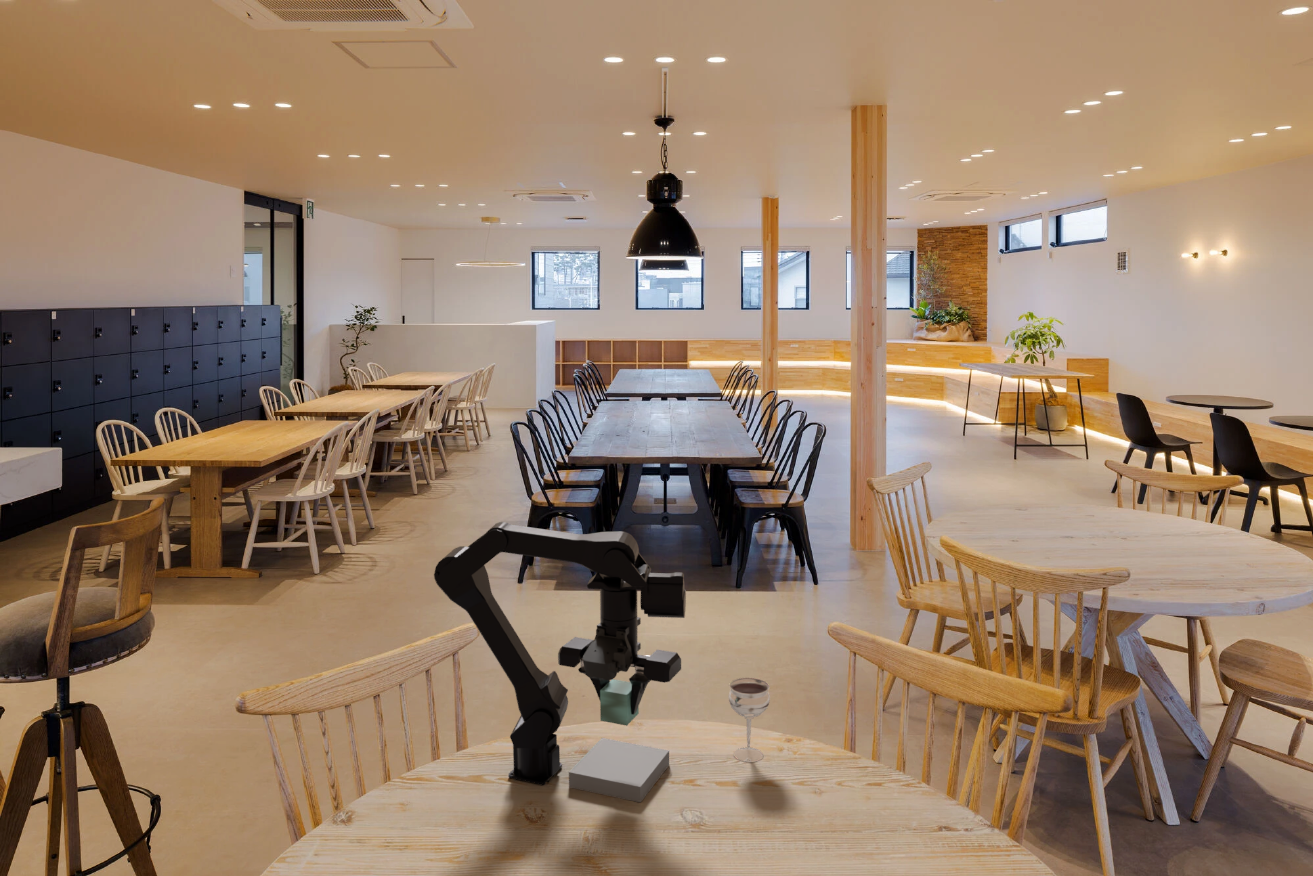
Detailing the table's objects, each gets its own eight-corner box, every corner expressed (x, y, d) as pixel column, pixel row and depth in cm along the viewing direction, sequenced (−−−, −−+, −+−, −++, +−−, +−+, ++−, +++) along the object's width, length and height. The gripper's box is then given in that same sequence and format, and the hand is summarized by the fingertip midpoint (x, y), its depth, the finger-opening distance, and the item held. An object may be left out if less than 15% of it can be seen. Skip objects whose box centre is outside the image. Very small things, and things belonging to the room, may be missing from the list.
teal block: (600, 720, 140) (600, 690, 140) (612, 708, 145) (612, 679, 144) (626, 725, 139) (626, 694, 138) (638, 713, 143) (638, 683, 142)
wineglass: (722, 760, 148) (723, 690, 146) (734, 741, 154) (735, 674, 152) (762, 768, 145) (763, 697, 144) (773, 749, 152) (774, 681, 150)
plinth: (569, 787, 140) (568, 772, 140) (602, 751, 151) (601, 737, 151) (640, 802, 135) (640, 787, 135) (669, 765, 146) (669, 750, 146)
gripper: (539, 624, 135) (541, 722, 138) (655, 641, 128) (655, 744, 131) (574, 601, 146) (575, 693, 148) (682, 616, 139) (682, 712, 141)
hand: (619, 710), depth 141 cm, fingers closed on teal block, 4 cm apart
